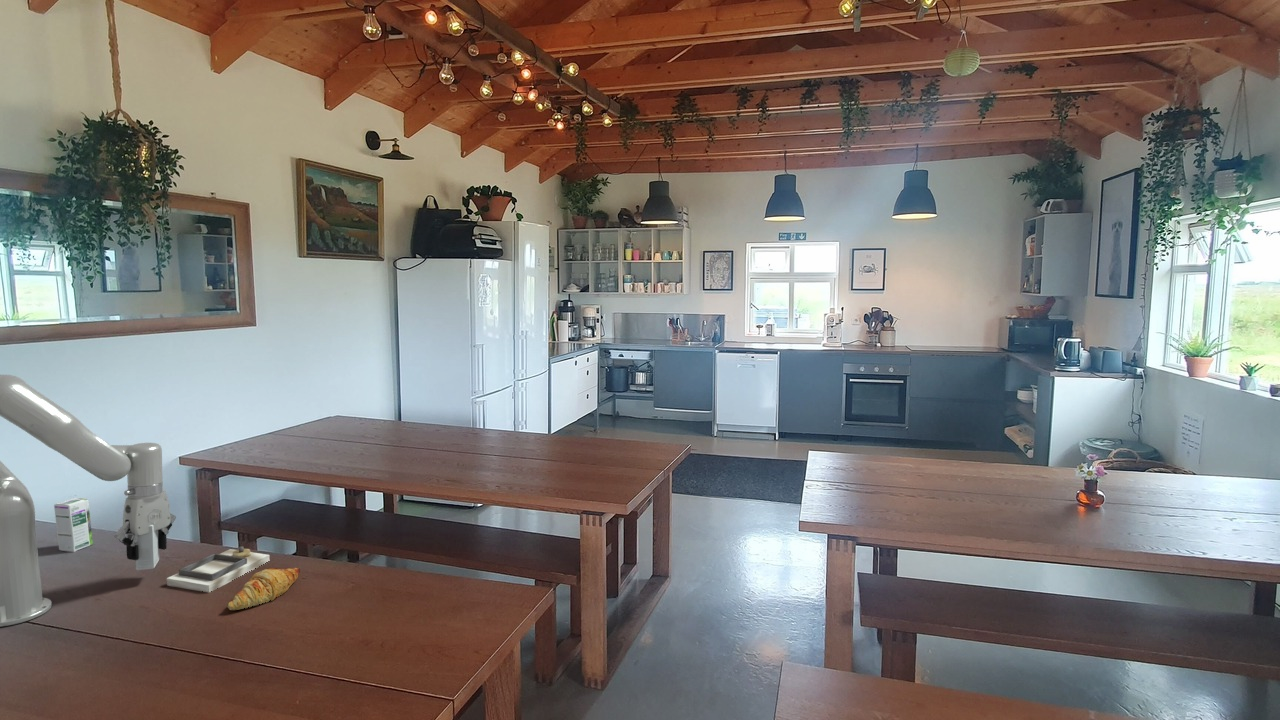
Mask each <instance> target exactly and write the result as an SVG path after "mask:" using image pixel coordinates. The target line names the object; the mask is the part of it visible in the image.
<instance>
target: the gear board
mask: <svg viewBox="0 0 1280 720" xmlns="http://www.w3.org/2000/svg"><path fill="white" fill-rule="evenodd" d="M270 559H271V558H270V554H265V553H259V552H253V551H251V549H250V548H244V546H242V545H241V546H239V547H238V549H232V548H230V549H227V550H225V551H223V552H221V553H213V554H211V555H210V554H209V556H206V557H204V558H202V559H199V560H198V561H195V562H193V563H191V564H189V565H186V566H184V567H182V568H180V569H178V573H175V574H173V575H171V576H168V577H167V578H166V585H167V586H169V587H172V588H174V587H175V588H179V589H185V590H192V591H198V592H202V591H203V593H212V592H214V591H216V590H217V588H218V589H220V588H221V587H223V586H225V585H227V584H229V583H231V582H233V581H235V580H237V579H239V578H241V577H242V575H243V576H245V575H246V574H245V573H247V572H248V573H250V572H252V571H254V570H256V569H259V568H260V567H262V566H264V565H266V564H267V563H266V562H268V561H271V560H270ZM265 563H266V564H265ZM268 563H269V562H268ZM263 564H264V565H263ZM261 565H262V566H261ZM259 566H260V567H259ZM255 568H256V569H255ZM251 570H252V571H251ZM249 571H250V572H249ZM248 573H247V574H248ZM244 574H245V575H244ZM240 576H241V577H240ZM238 577H239V578H238ZM236 578H237V579H236ZM234 579H235V580H234ZM232 580H233V581H232ZM211 591H212V592H211Z"/></svg>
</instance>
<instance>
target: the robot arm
mask: <svg viewBox="0 0 1280 720" xmlns="http://www.w3.org/2000/svg"><path fill="white" fill-rule="evenodd" d="M0 417H2V418H3V419H5V420H6V421H8V422H9V423H12V424H13V425H15V426H16V427H18V428H19V429H21V430H22V431H24V432H26V433H27V434H29V436H31V437H33V438H35V439H36V440H38V441H40V442H41V443H42V444H44V445H45V446H47V447H48V448H50V449H52V450H53V451H54V452H57V453H58V454H60V455H62V456H63V457H65V458H67V459H68V460H69V461H71V462H72V463H74V464H75V465H77V466H79V467H80V468H82V469H83V470H84V471H86V472H88V473H90V474H91V475H93V476H94V477H96V478H98V479H99V480H102V481H105V482H115V481H119V480H122V479H124V478H125V477H126V476H127V490H125V491H123V493H124V495H125V497H126V498H125V501H124V506H123V507H124V508H123V514H122V515H123V516H122V525H121V527H120V528H119V529H118V530H117V531H116V533H114V538H115V539H116V540H118V541H119V542H120V543H121V544H123V545H124V546H126V558H127V560H133V561H135V560H138V559H139V549H138V545H136V543H137V541H138V538H139V536H142V535H145V534H148V533H149V526H150V525H153V526H154V531H157V530H158V541H159V550H166V549H167V547H168V546H167V535H168V534H169V532H170V531H169V530H170V529H171V528H172V526H173V523H174V522H175V521H176V518H177V516H176V515H174V514H173V513H171V509H170V502H169V498H168V495H167V492H166V490H164V487H163V450H162V446H161V445H160V444H159V443H156V442H141V443H135V444H131V445H129V444H128V445H127V444H126V445H125V444H123V445H121V444H119V445H117V444H116V445H114V444H109V443H108V442H107V441H105V440H103V438H101V437H99V436H98V435H97V434H96V433H94V432H93V431H91V430H90V429H89V428H88V427H87V426H86V425H84V423H82V422H81V420H79V419H78V418H77V417H76V416H75V415H74V414H72V413H70V412H69V411H68V410H66V409H65V408H63V407H61V406H60V405H58V404H57V403H55V402H54V401H52V400H51V399H50V398H48V397H46V396H45V395H44V394H42V393H41V392H40V391H37V390H36V389H35V388H33V386H30V385H29V384H28V383H27V382H26V381H25V380H24V379H22V378H21V377H18V376H16V375H12V374H0ZM34 503H35V502H34V500H33V497H32V495H31V494H30V491H29V490H28V488H27V487H26V485H25V484H24V483H23V482H22V481H21V480H20V479H19V478H18V477H17V476H16V475H15V474H14V473H13V472H12V471H11V470H10V469H9V467H7V466H6V464H4V463H3V462H2V461H1V460H0V627H7V626H12V625H18V624H21V623H24V622H28V621H30V620H33V619H35V618H38V617H41V616H42V615H44V614H45V613H47V612H49V610H51V608H52V606H53V603H52V599H50V598H48V597H43V592H42V591H43V590H42V589H43V588H42V581H41V571H40V561H39V551H38V543H37V531H36V511H35V509H36V508H35V504H34Z"/></svg>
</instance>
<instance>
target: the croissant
mask: <svg viewBox="0 0 1280 720" xmlns="http://www.w3.org/2000/svg"><path fill="white" fill-rule="evenodd" d="M300 573H301V568H299V567H294V568H264V569H263V570H259V571H257V572H255V573H254V574H253V575H251V576H250V578H249V580H248V581H246V583H245V584H244V585H243V586H242V589H241V590H240V591H239V592H237V593H236V594H235V595H234V597H233V599H232V601H231V600H230V601H229V602H228V604H227V608H228V609H229V611H237V610H244V608H245V609H249V608H252V606H253V607H255V606H260V605H262V603H263V604H266V603H270V602H273V601H274V600H275V599H276V597H277V598H279V597H281V596H282V595H283V594H285V593H286V592H287V591H288V590H289V589H290V588H291V586H292V585H293V584H294V583H295V582H296V581H297V580H298V578H299V576H300ZM280 595H281V596H280ZM278 596H279V597H278ZM270 600H271V601H270ZM269 601H270V602H269ZM265 602H266V603H265ZM259 604H260V605H259ZM248 607H249V608H248Z"/></svg>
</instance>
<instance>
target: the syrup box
mask: <svg viewBox="0 0 1280 720" xmlns="http://www.w3.org/2000/svg"><path fill="white" fill-rule="evenodd" d="M89 503H90V502H89V499H87V498H81V497H73V498H70V499H68V500H64V501H62V502H58V503H55V504H54V505H53V508H54V509H53V510H54V518H55V524H56V526H55V527H56V535H57V542H58V550H59V551H64V552H70V553H75V552H77V551H79V550H83V549H85V548H88V547H90V546H93V545H94V541H93V534H92V533H93V531H92V523H91V514H90V513H91V512H90V505H89Z"/></svg>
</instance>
